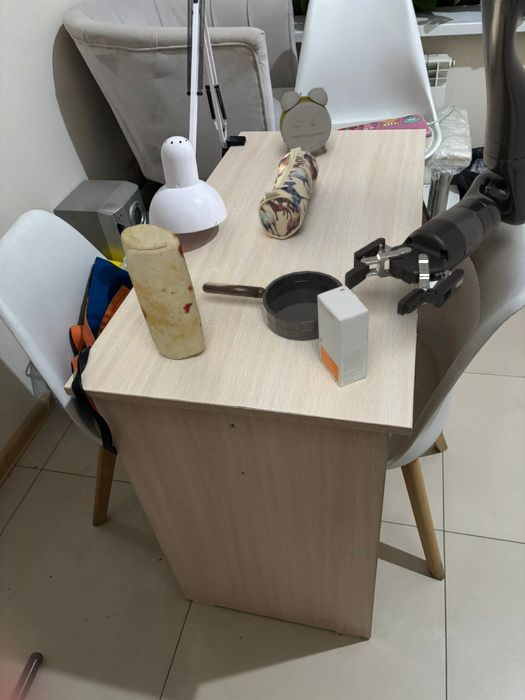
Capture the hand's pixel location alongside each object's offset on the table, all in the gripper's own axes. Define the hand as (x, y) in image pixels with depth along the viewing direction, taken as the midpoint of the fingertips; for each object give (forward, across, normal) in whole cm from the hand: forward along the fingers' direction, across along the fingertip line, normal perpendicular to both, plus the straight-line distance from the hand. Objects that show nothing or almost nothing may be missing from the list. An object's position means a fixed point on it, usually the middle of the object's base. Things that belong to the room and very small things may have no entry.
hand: (372, 296), depth 66 cm
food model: (+18, -22, +10) cm, 30 cm away
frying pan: (0, -13, +10) cm, 16 cm away
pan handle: (+5, -23, +8) cm, 25 cm away
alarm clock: (-43, -53, +10) cm, 69 cm away
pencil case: (-22, -37, +10) cm, 45 cm away
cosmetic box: (+5, -1, +10) cm, 11 cm away
